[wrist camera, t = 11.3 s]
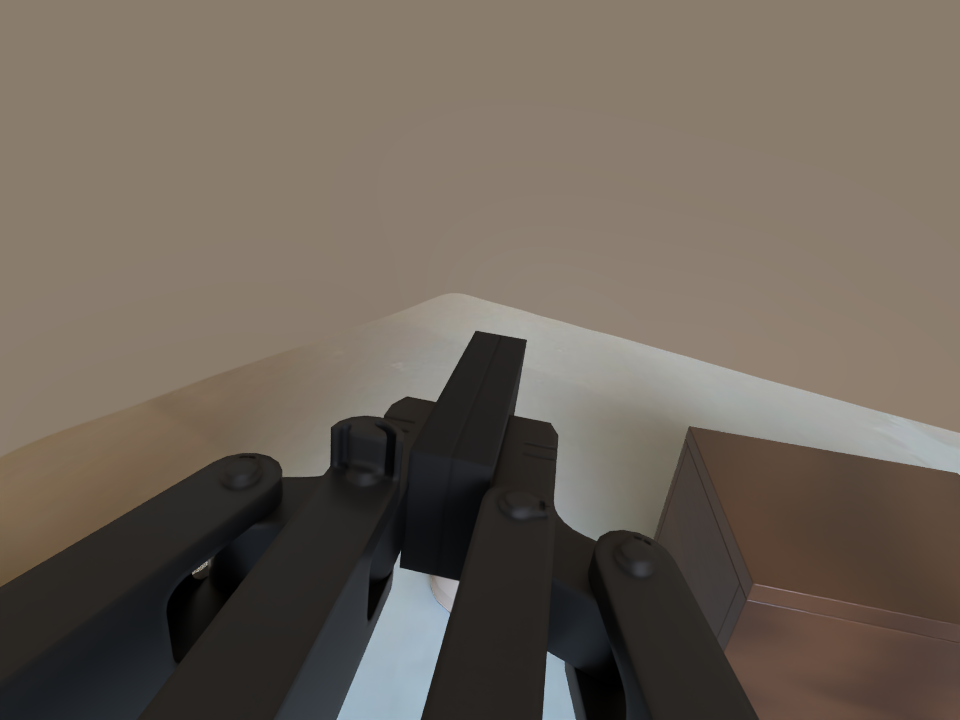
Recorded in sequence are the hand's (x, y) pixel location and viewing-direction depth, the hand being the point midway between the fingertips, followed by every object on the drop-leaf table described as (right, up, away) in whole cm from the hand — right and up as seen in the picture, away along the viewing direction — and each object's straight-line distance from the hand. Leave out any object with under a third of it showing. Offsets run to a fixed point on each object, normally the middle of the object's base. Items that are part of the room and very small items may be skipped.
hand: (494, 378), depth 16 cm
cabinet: (+16, -15, +12) cm, 25 cm away
